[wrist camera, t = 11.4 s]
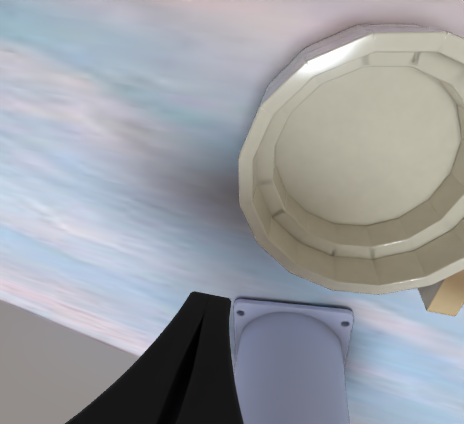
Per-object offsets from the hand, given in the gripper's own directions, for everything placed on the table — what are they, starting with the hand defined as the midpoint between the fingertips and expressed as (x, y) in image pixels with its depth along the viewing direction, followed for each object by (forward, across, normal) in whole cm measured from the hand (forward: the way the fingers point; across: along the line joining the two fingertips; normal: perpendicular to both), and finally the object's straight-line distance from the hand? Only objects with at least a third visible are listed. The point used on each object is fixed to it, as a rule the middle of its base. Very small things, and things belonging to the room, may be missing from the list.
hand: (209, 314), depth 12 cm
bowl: (+9, -6, -3) cm, 11 cm away
